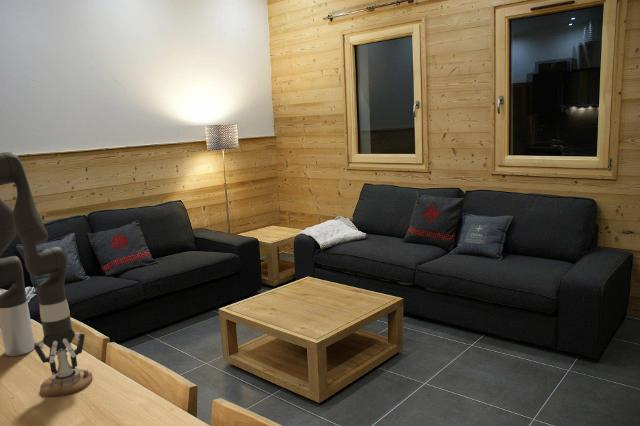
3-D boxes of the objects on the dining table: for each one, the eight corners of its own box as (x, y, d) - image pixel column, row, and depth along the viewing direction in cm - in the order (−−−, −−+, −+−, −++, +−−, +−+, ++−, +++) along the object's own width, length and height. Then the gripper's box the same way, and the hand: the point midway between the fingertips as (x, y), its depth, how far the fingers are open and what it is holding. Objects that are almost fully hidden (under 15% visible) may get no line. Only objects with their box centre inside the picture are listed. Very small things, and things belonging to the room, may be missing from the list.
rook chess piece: (77, 371, 161) (72, 346, 160) (65, 378, 157) (61, 353, 155) (65, 370, 163) (61, 345, 161) (53, 377, 158) (49, 351, 157)
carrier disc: (39, 382, 163) (37, 372, 162) (88, 368, 170) (87, 359, 169) (42, 402, 151) (40, 391, 150) (95, 386, 158) (94, 376, 157)
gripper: (80, 306, 163) (88, 359, 166) (27, 318, 156) (36, 373, 159) (83, 313, 157) (92, 368, 160) (28, 326, 150) (38, 383, 153)
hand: (64, 370), depth 160 cm, fingers closed on rook chess piece, 4 cm apart
